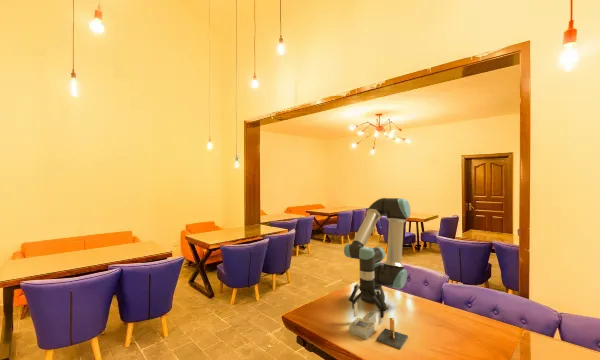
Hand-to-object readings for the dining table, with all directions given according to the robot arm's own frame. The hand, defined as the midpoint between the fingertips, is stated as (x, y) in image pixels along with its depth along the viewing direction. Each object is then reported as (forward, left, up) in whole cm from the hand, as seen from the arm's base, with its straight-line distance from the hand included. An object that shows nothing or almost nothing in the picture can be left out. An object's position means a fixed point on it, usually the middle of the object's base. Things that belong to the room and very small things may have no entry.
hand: (367, 319), depth 139 cm
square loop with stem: (+2, 0, -3) cm, 4 cm away
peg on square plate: (+4, +14, -3) cm, 15 cm away
